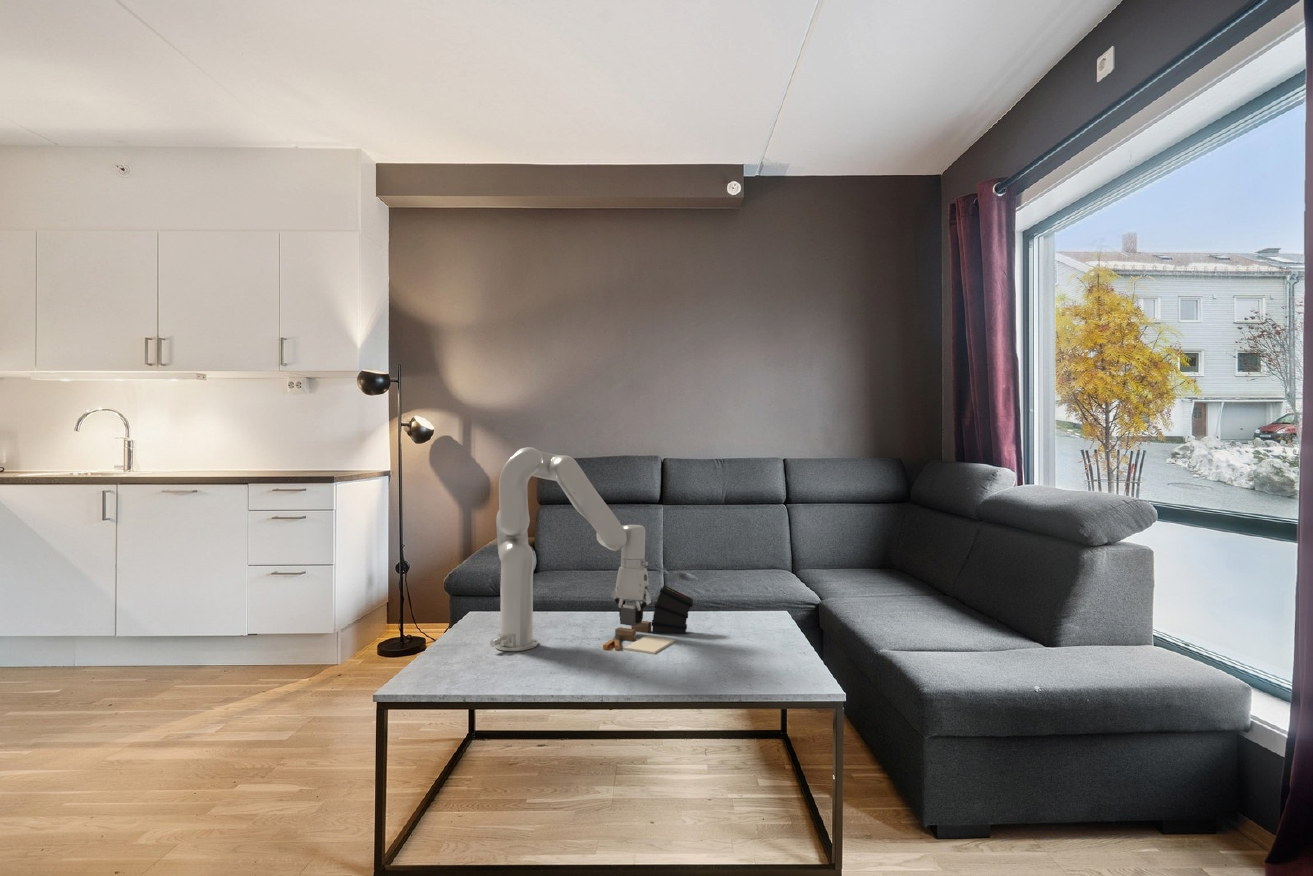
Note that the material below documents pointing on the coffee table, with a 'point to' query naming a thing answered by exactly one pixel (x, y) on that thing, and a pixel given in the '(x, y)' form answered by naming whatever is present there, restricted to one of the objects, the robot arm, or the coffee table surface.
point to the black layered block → (671, 612)
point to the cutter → (612, 643)
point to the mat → (649, 644)
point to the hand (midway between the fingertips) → (630, 620)
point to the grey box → (628, 614)
